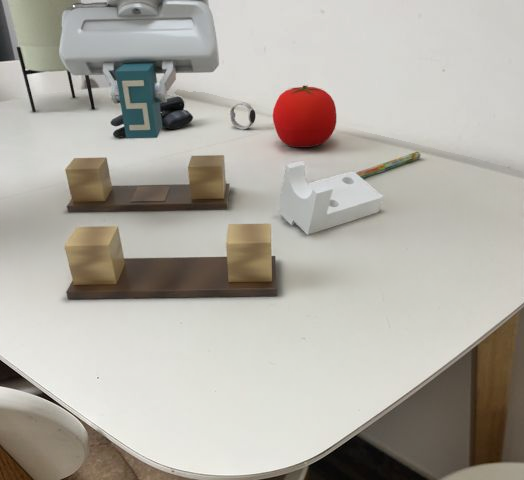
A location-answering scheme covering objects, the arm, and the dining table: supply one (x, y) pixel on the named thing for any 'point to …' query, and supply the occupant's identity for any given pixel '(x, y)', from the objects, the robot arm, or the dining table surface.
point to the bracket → (325, 199)
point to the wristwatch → (250, 116)
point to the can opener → (163, 116)
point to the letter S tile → (139, 100)
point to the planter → (41, 38)
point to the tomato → (304, 116)
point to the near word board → (170, 267)
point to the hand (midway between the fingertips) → (139, 100)
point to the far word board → (147, 188)
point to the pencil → (388, 165)
